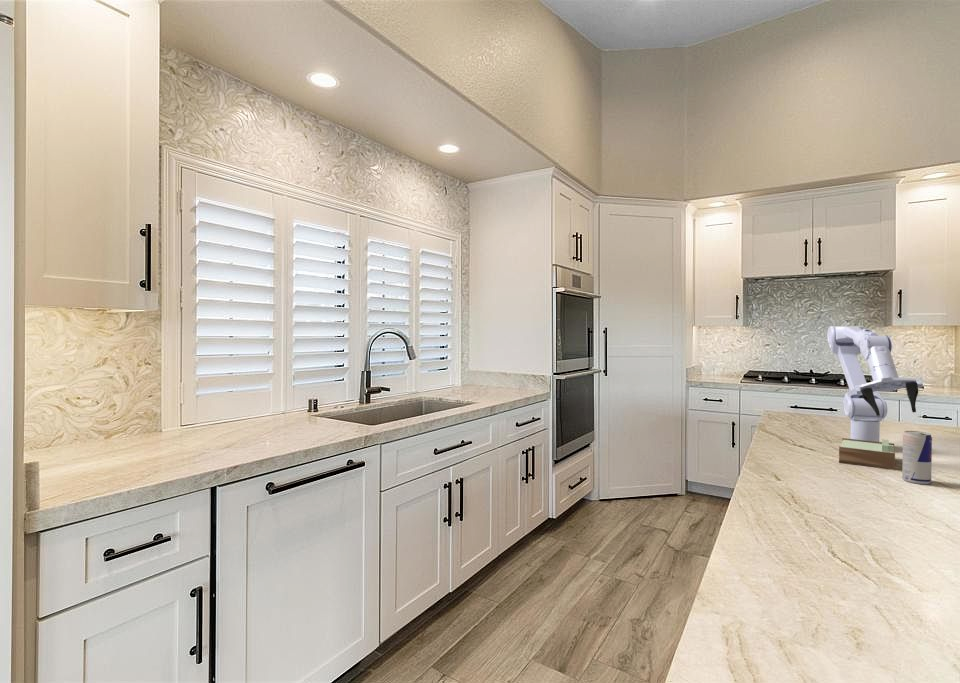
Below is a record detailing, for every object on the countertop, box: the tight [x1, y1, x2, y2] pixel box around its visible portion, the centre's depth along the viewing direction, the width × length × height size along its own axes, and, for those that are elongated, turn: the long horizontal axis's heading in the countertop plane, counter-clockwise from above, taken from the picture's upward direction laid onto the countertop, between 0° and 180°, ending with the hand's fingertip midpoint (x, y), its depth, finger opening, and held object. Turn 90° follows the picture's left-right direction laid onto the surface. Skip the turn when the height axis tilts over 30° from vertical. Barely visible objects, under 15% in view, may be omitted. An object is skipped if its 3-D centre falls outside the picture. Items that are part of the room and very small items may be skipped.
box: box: [838, 437, 896, 471], centre depth 141 cm, size 14×12×4 cm
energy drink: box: [901, 430, 933, 485], centre depth 122 cm, size 5×5×12 cm
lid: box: [840, 438, 895, 453], centre depth 140 cm, size 12×12×2 cm
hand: (895, 412), depth 134 cm, fingers open, 7 cm apart
